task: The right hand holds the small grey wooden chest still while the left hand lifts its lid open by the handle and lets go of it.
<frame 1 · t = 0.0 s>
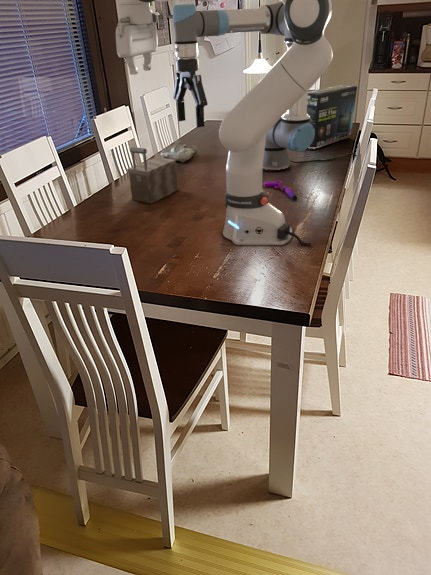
left hand: (140, 72, 133), 48 cm above the table, tool pointing down, fingers open, 8 cm apart
right hand: (190, 123, 165), 28 cm above the table, tool pointing down, fingers open, 13 cm apart
chest: (155, 194, 184), on the table
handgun: (280, 192, 182), on the table
fossil: (178, 158, 230), on the table
router box: (325, 143, 245), on the table
lid: (150, 155, 176), point 16 cm above the table, hinge at 0.0°
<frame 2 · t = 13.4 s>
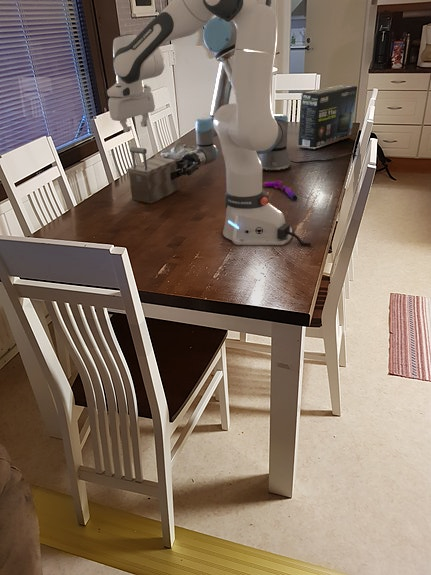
left hand: (135, 129, 166), 27 cm above the table, tool pointing down, fingers open, 8 cm apart
right hand: (161, 174, 184), 7 cm above the table, tool horizontal, fingers closed on chest, 10 cm apart
chest: (155, 194, 184), on the table, touching right hand
everything else where it was.
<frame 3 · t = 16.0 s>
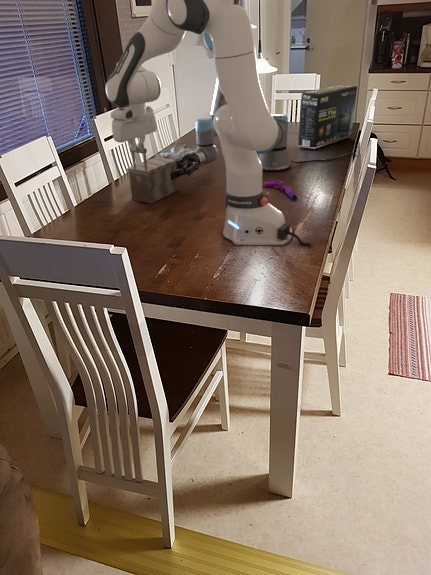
left hand: (138, 149, 169), 20 cm above the table, tool pointing down, fingers closed on lid, 2 cm apart
right hand: (161, 174, 184), 7 cm above the table, tool horizontal, fingers closed on chest, 10 cm apart
chest: (155, 194, 184), on the table, touching right hand
lid: (150, 155, 176), point 16 cm above the table, hinge at 0.5°, touching left hand
everything else where it was.
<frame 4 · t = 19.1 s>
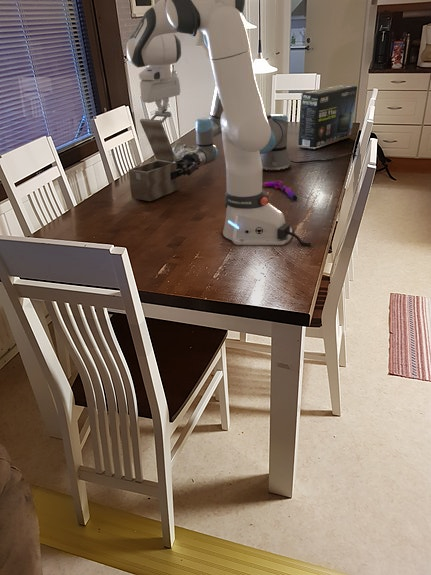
left hand: (162, 111, 176), 30 cm above the table, tool pointing down, fingers closed, pressing on lid
right hand: (161, 174, 184), 7 cm above the table, tool horizontal, fingers closed on chest, 10 cm apart
chest: (155, 193, 184), on the table, touching right hand
lid: (164, 134, 180), point 22 cm above the table, hinge at 64.7°, touching left hand
everything else where it was.
when the right hand's fingers open (7 cm above the table, at t = 23.6 s): chest stays where it is, on the table.
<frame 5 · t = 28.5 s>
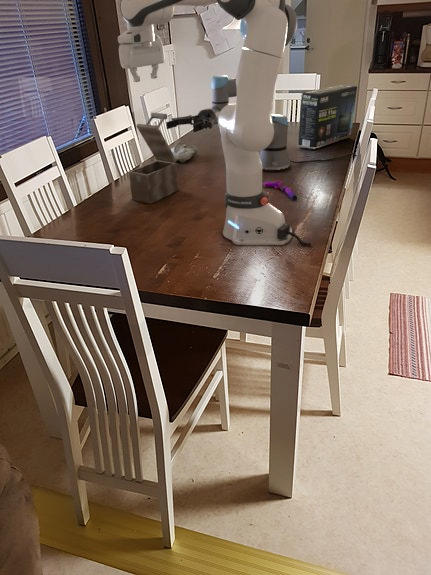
left hand: (145, 80, 164), 42 cm above the table, tool pointing down, fingers open, 8 cm apart
right hand: (180, 127, 187), 22 cm above the table, tool horizontal, fingers open, 13 cm apart
chest: (155, 194, 184), on the table
lid: (161, 136, 178), point 21 cm above the table, hinge at 58.0°
everything else where it was.
at the end: lid at +58° (first picture: +0°); the left hand is holding nothing; the right hand is holding nothing; chest tilted 0°; chest never tilted more than 3° during the clip; chest moved 0.2 cm from its start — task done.
